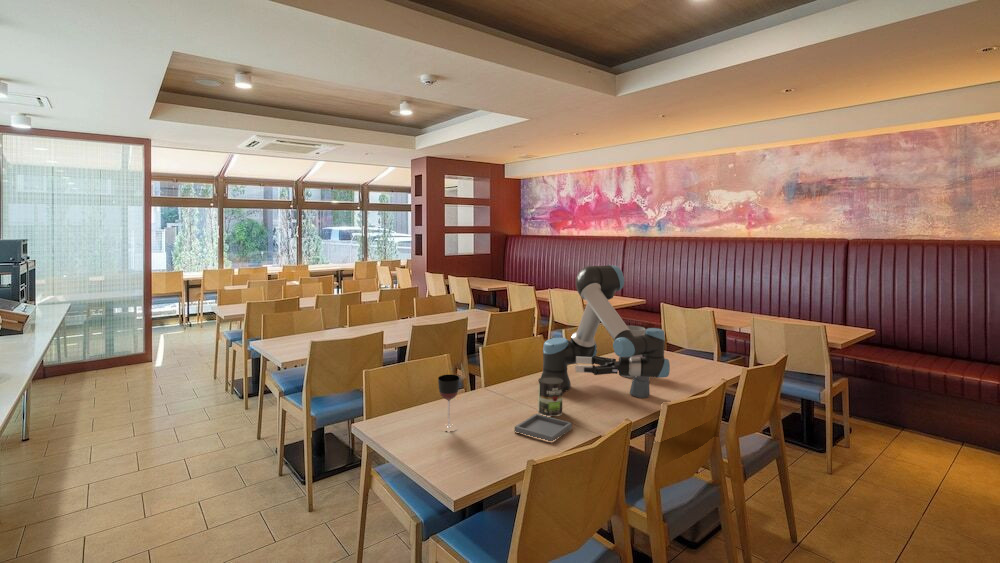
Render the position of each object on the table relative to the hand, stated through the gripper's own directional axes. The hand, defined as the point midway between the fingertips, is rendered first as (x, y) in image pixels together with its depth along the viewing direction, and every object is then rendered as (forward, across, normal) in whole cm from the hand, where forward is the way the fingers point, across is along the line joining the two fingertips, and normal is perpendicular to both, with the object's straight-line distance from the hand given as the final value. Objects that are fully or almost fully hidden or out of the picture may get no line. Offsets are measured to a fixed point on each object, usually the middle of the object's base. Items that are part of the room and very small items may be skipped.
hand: (575, 364), depth 207 cm
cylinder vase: (-28, +61, -21) cm, 71 cm away
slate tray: (+12, -19, -22) cm, 31 cm away
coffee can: (+10, +1, -22) cm, 24 cm away
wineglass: (+48, -23, -22) cm, 57 cm away
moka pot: (-29, +30, -22) cm, 47 cm away
